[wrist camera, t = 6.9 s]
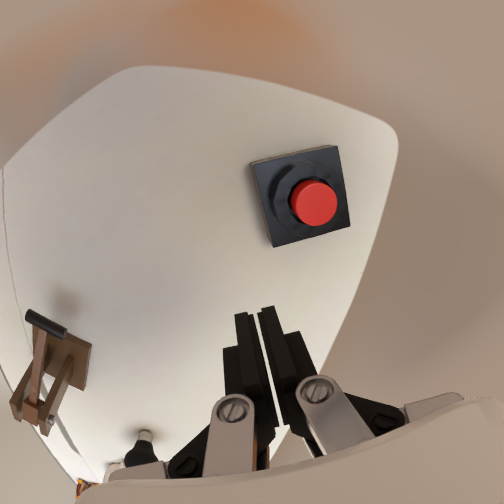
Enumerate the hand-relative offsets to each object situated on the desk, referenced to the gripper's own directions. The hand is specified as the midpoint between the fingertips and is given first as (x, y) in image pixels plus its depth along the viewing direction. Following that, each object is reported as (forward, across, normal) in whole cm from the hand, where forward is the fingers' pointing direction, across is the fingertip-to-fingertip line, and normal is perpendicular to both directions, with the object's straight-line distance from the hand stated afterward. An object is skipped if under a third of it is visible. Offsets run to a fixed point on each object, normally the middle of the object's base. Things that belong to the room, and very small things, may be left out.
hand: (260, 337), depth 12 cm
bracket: (+18, +29, +12) cm, 36 cm away
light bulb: (+18, +24, +32) cm, 44 cm away
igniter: (+17, -7, -2) cm, 19 cm away
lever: (+10, +26, +9) cm, 29 cm away
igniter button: (+14, -7, -2) cm, 15 cm away
